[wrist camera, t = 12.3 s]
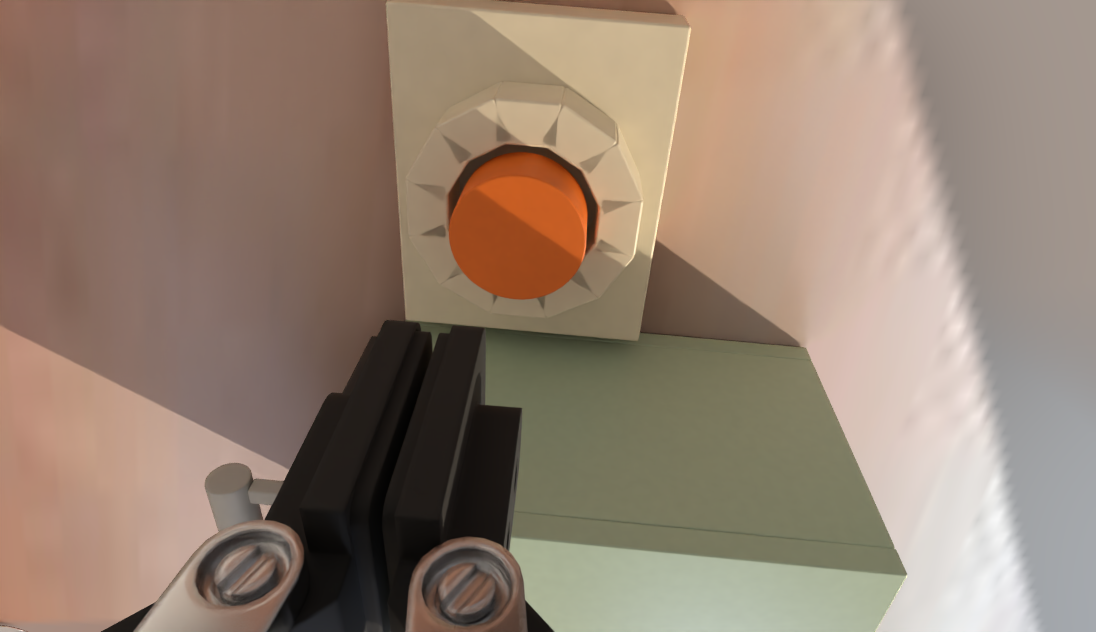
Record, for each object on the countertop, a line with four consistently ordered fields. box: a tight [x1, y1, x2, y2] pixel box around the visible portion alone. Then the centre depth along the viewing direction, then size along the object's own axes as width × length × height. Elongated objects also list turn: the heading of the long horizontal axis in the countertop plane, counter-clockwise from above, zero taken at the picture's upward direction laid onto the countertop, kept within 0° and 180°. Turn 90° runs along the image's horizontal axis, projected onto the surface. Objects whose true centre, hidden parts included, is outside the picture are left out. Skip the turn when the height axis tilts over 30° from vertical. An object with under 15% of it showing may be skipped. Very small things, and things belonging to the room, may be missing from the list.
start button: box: [449, 152, 588, 300], centre depth 18 cm, size 4×4×2 cm
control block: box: [386, 0, 691, 341], centre depth 20 cm, size 10×8×4 cm
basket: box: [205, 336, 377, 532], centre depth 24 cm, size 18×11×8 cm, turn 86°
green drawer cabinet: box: [405, 320, 907, 632], centre depth 24 cm, size 15×13×10 cm
